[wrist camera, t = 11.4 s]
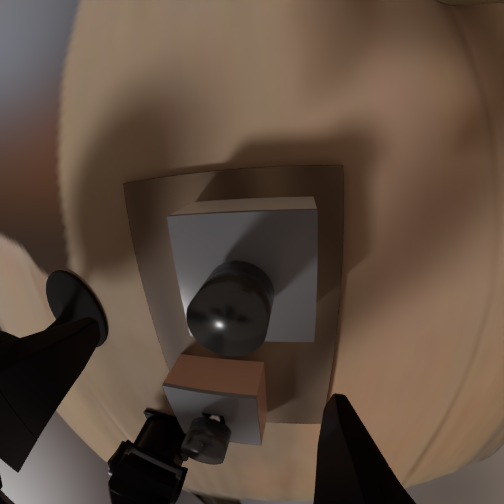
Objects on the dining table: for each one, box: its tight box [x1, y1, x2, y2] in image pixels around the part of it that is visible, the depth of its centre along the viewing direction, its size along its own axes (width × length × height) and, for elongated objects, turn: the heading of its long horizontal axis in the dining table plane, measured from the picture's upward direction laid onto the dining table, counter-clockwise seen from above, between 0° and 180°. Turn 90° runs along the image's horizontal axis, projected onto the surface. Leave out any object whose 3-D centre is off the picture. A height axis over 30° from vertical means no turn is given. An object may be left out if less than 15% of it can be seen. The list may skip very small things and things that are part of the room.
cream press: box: [167, 197, 318, 342], centre depth 17 cm, size 8×8×4 cm
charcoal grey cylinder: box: [181, 414, 232, 464], centre depth 20 cm, size 4×4×8 cm
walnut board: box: [123, 165, 344, 424], centre depth 22 cm, size 16×26×1 cm, turn 4°
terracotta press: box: [162, 354, 267, 445], centre depth 23 cm, size 8×8×4 cm
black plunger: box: [186, 261, 274, 357], centre depth 15 cm, size 4×4×8 cm
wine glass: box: [0, 270, 107, 347], centre depth 17 cm, size 10×10×20 cm
